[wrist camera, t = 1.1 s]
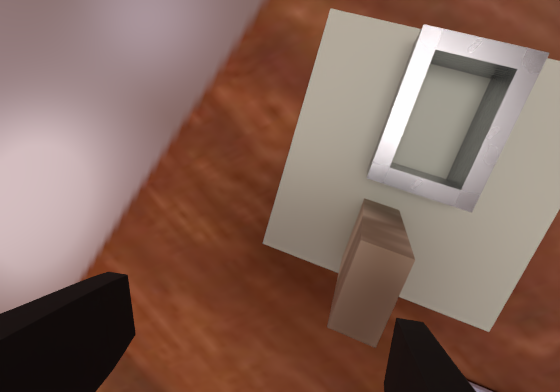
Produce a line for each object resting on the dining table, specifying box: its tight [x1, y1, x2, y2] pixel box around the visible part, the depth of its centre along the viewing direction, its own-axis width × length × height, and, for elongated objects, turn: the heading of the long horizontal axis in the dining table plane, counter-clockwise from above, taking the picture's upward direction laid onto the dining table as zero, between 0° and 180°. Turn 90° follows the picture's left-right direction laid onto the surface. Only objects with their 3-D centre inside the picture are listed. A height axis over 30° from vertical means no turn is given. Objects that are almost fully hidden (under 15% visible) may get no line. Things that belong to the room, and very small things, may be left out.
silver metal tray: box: [367, 25, 549, 213], centre depth 15 cm, size 5×7×3 cm
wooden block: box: [327, 198, 415, 348], centre depth 15 cm, size 2×4×7 cm, turn 163°
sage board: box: [263, 9, 560, 332], centre depth 18 cm, size 14×14×1 cm
